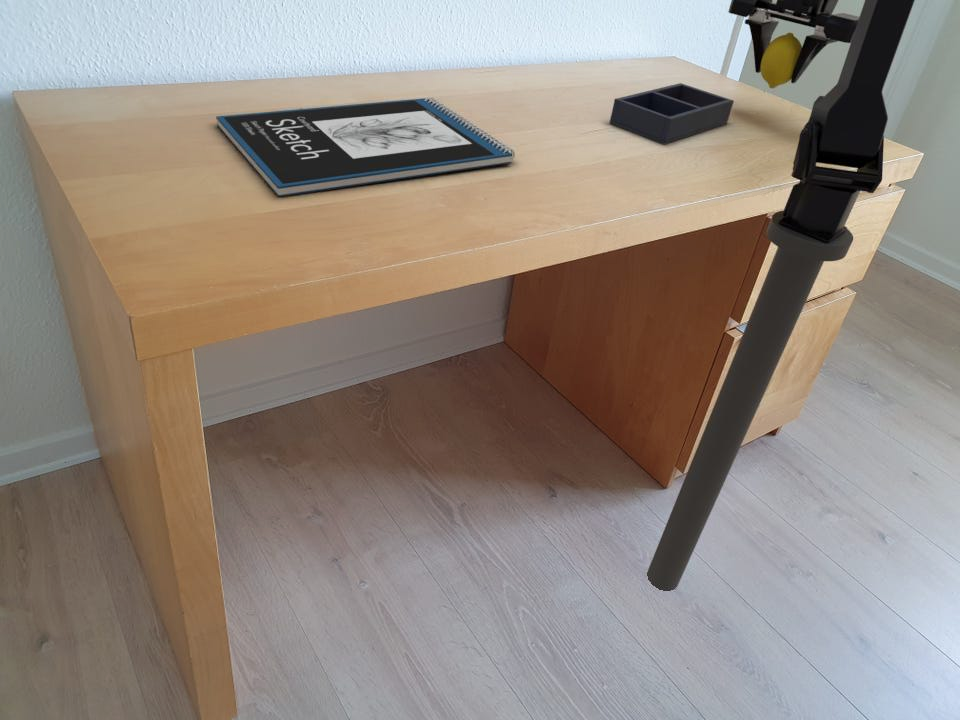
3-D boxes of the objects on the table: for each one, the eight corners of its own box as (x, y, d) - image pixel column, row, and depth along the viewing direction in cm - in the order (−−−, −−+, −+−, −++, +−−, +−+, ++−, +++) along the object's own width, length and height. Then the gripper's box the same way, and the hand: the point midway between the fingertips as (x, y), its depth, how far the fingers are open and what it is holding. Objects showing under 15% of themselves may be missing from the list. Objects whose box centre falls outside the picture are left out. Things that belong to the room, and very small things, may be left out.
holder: (726, 123, 112) (734, 100, 109) (664, 144, 100) (671, 119, 98) (674, 105, 116) (680, 82, 114) (609, 123, 105) (614, 98, 103)
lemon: (782, 85, 112) (801, 30, 107) (795, 95, 108) (816, 39, 103) (748, 81, 112) (766, 26, 107) (760, 91, 107) (779, 34, 102)
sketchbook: (216, 127, 87) (215, 110, 86) (432, 109, 102) (433, 94, 100) (278, 198, 73) (277, 178, 72) (517, 165, 88) (520, 148, 86)
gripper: (902, -27, 100) (855, 88, 109) (777, -51, 109) (744, 56, 118) (874, -24, 93) (826, 98, 102) (744, -51, 102) (711, 63, 112)
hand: (775, 77), depth 109 cm, fingers closed on lemon, 5 cm apart
